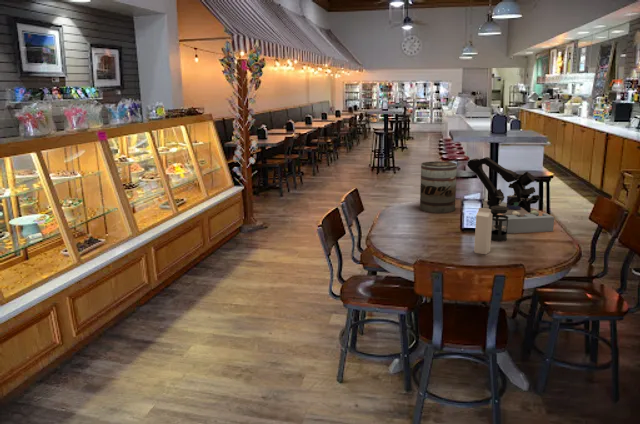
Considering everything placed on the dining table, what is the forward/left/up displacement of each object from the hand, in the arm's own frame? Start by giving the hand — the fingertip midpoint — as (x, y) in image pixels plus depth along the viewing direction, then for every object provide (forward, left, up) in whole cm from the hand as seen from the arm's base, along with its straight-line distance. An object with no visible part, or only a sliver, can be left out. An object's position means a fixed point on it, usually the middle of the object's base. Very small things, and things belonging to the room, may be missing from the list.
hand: (529, 212), depth 300 cm
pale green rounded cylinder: (+6, -2, -1) cm, 7 cm away
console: (+10, -14, -7) cm, 18 cm away
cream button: (+3, -12, -1) cm, 13 cm away
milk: (+31, -58, -7) cm, 66 cm away
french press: (+16, -37, -7) cm, 41 cm away
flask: (-31, +15, -7) cm, 35 cm away
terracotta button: (+4, -24, -1) cm, 24 cm away
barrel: (-52, -29, -7) cm, 59 cm away
